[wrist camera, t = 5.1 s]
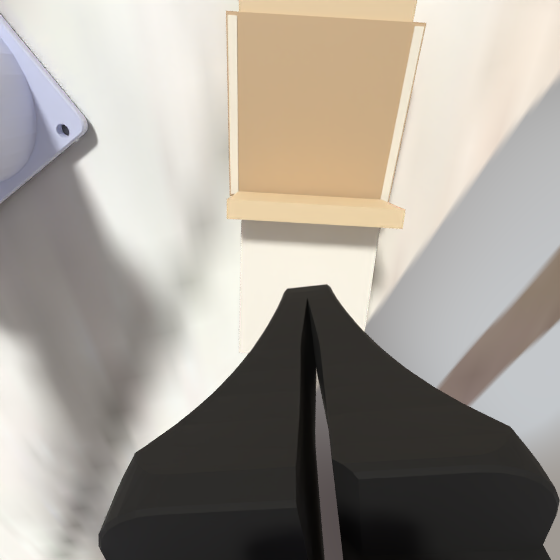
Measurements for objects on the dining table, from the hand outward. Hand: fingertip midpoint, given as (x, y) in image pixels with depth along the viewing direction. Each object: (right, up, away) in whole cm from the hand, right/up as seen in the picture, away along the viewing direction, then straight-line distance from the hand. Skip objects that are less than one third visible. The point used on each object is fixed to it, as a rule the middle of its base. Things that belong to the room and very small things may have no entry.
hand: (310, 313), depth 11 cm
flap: (0, +4, +1) cm, 4 cm away
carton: (0, +8, +4) cm, 9 cm away
